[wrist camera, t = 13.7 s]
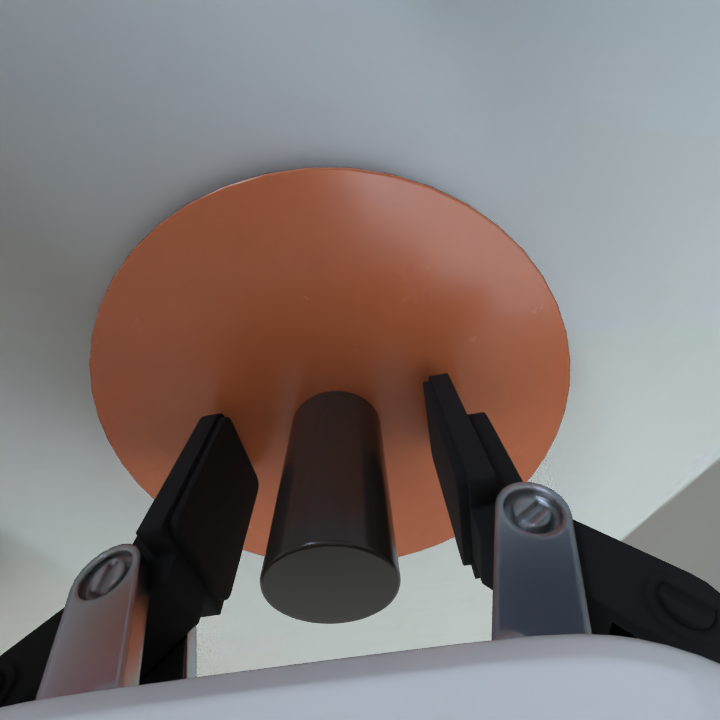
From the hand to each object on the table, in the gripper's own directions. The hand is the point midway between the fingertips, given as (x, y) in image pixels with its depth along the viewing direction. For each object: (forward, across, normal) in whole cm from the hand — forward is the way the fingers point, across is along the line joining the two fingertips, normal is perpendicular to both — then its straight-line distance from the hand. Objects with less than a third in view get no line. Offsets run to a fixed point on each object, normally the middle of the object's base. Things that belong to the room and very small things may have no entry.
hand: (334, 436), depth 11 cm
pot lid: (+1, 0, 0) cm, 1 cm away
